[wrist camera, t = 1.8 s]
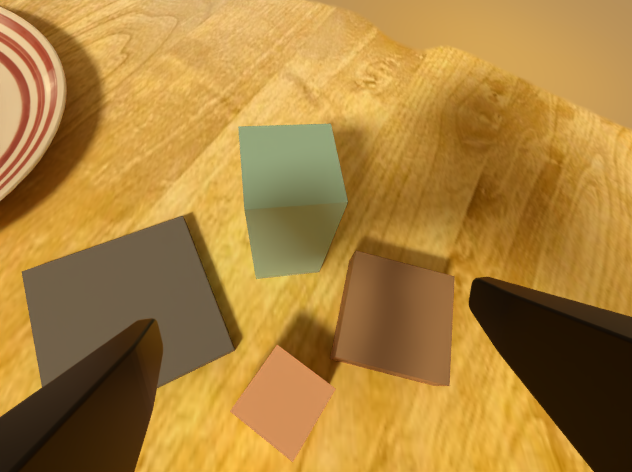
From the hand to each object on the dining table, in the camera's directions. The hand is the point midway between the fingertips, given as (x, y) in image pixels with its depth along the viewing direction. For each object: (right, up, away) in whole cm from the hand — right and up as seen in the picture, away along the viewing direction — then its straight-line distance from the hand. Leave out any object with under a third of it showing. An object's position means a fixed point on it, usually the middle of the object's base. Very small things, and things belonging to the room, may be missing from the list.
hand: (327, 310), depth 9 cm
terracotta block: (-2, -7, +8) cm, 11 cm away
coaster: (-12, -3, +12) cm, 17 cm away
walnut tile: (+5, -4, +14) cm, 15 cm away
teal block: (-3, +1, +15) cm, 15 cm away
